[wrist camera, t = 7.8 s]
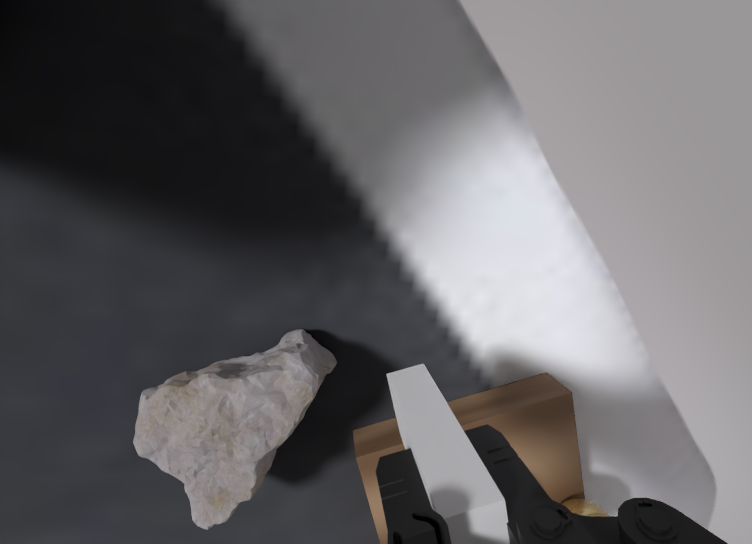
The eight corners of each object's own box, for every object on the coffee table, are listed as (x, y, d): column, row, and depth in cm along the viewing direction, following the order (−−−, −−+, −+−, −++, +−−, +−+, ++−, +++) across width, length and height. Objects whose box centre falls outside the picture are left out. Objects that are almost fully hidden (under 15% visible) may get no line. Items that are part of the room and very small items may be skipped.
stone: (257, 277, 21) (233, 308, 15) (358, 369, 23) (371, 427, 17) (134, 398, 21) (65, 473, 15) (244, 478, 23) (218, 571, 17)
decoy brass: (537, 495, 23) (574, 547, 20) (589, 477, 23) (634, 526, 20) (544, 539, 24) (580, 596, 20) (594, 522, 24) (639, 576, 21)
